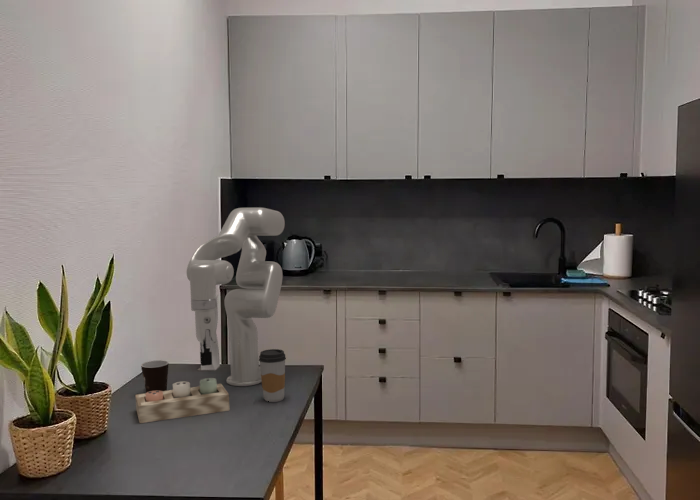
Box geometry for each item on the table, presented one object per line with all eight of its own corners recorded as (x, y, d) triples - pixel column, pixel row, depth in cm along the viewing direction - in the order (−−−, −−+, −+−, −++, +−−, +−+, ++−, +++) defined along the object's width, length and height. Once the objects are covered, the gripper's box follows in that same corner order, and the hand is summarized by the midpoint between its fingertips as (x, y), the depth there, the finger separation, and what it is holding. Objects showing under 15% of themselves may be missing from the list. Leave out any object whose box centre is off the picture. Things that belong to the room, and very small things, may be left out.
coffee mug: (166, 397, 235) (164, 367, 234) (139, 398, 235) (137, 367, 234) (175, 386, 246) (173, 357, 245) (149, 387, 247) (148, 358, 246)
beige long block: (222, 399, 232) (221, 383, 232) (229, 410, 221) (228, 394, 220) (136, 410, 223) (135, 394, 223) (139, 423, 212) (138, 406, 211)
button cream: (189, 396, 225) (188, 379, 224) (191, 401, 220) (190, 384, 220) (172, 398, 223) (171, 382, 223) (174, 403, 218) (173, 386, 218)
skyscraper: (225, 365, 272) (221, 291, 269) (218, 372, 264) (215, 294, 261) (202, 365, 273) (198, 291, 270) (196, 372, 265) (191, 295, 262)
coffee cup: (289, 394, 234) (287, 348, 233) (284, 403, 226) (282, 355, 224) (263, 394, 235) (261, 348, 234) (258, 403, 227) (255, 355, 225)
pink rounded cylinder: (162, 405, 222) (161, 388, 222) (164, 410, 218) (163, 393, 217) (145, 408, 221) (144, 391, 220) (147, 413, 216) (146, 395, 215)
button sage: (215, 393, 228) (214, 376, 227) (218, 397, 223) (217, 380, 222) (199, 395, 226) (198, 378, 225) (201, 399, 221) (201, 383, 221)
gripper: (221, 307, 215) (223, 369, 217) (212, 300, 229) (214, 358, 231) (195, 309, 213) (197, 371, 214) (187, 301, 227) (190, 360, 228)
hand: (206, 364), depth 223 cm, fingers closed
